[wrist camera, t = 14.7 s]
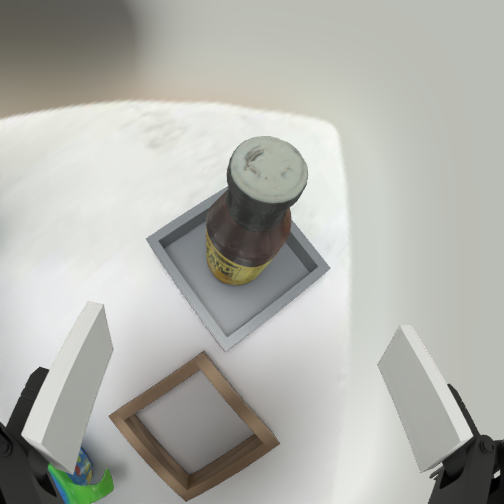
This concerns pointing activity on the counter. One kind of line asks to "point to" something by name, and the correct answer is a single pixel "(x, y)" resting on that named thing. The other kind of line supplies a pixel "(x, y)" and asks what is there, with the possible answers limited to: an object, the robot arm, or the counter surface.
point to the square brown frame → (165, 463)
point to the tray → (233, 296)
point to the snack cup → (81, 482)
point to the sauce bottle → (254, 209)
